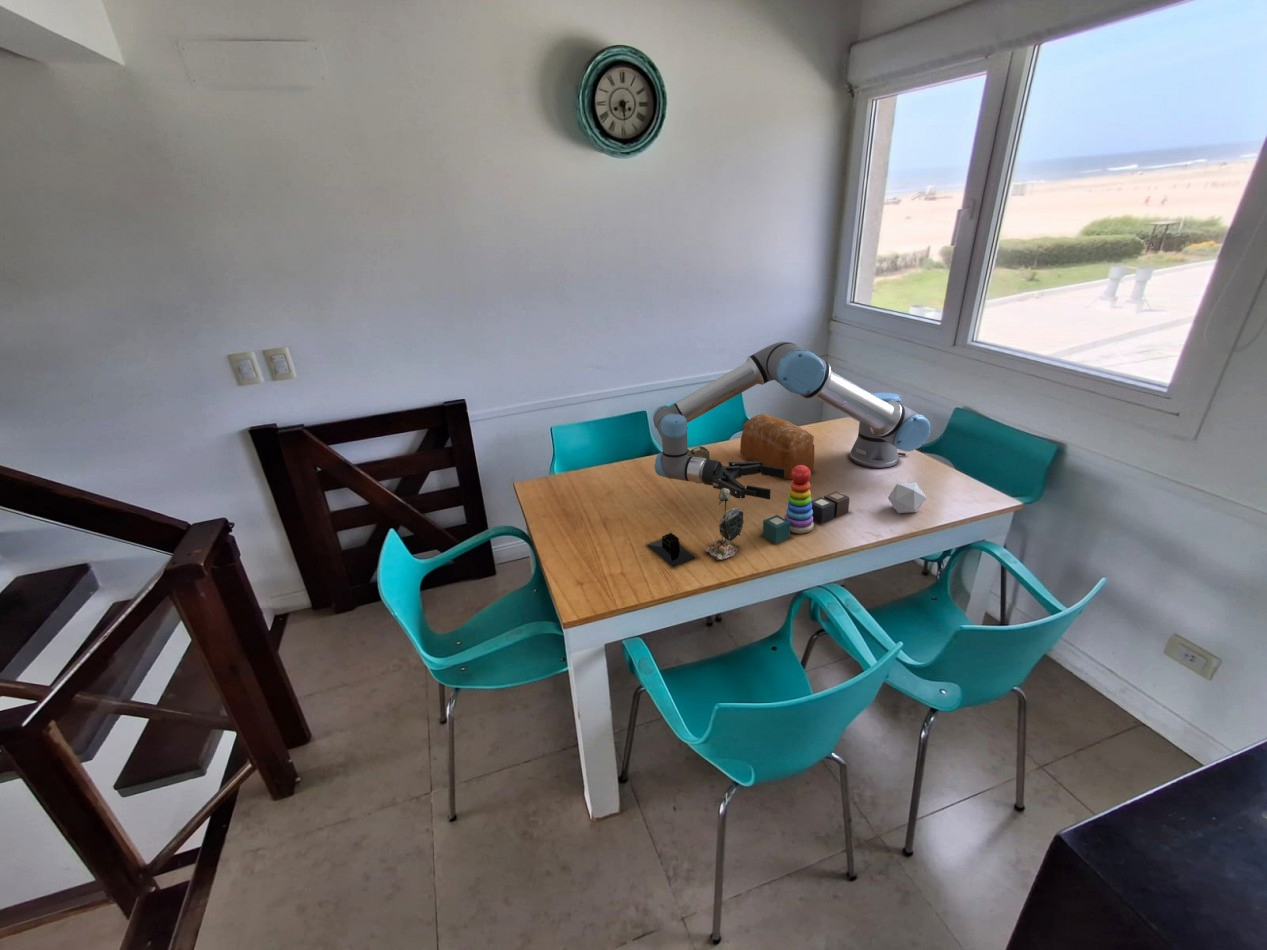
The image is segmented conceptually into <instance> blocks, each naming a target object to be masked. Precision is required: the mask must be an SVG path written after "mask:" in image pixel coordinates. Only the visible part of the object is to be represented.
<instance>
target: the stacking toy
mask: <svg viewBox="0 0 1267 950" xmlns="http://www.w3.org/2000/svg"><path fill="white" fill-rule="evenodd" d="M811 473H812V472H810V470H809V468H808V467H806V466H804V465H798V466H796V467H794V468H793V469H792V471H791V477H792V479H791V480H792V482H791V483H790V489H789V492H788V493H789V495H788V498H787V500H788V502H787V503H786V505H787V508H786V511H785V516H784V519H786V520H787V521H789V522H790V533H794V534H801V535H802V534H807V533H809V532H811V531H812V530H814V527H815V524H814V520H813V516H812V514H813V510H812V503H811V501H812V497H811V493H812V492H811V490H810V489H811V483H810V482H809V481H810V479H811V476H812V474H811Z"/></svg>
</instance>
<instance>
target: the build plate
mask: <svg viewBox="0 0 1267 950" xmlns="http://www.w3.org/2000/svg"><path fill="white" fill-rule="evenodd" d="M647 547H648V548H650V549H651V550H652V551H653V552H654V553H656V554H657V555H658V556H659V557H660V558H661V559H663V561H665V562H666V563H667V564H669V565H670V567H672V568H675V567H677V566H680V565H682V564H685V563H688V562H690V561H692V560H695V559H696V556H695V555H694V554H692V553H691V552H690V551H688V550H687V549H686V548H685V547H683V546H682V545H681V544H680V539H679V537H677V536H676V535H675V534H673V532H669V533H667V534H664V535H662V536H661V539H659V540H656V541H654V542H651V543H649V544H647Z"/></svg>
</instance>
